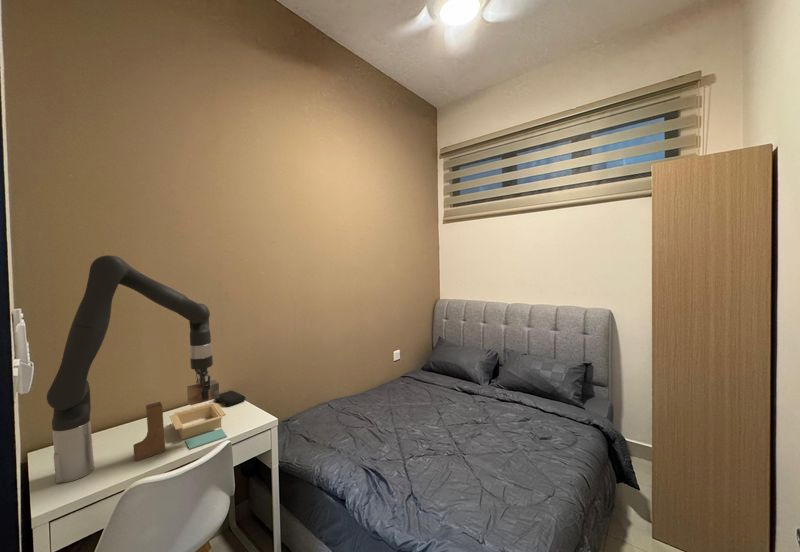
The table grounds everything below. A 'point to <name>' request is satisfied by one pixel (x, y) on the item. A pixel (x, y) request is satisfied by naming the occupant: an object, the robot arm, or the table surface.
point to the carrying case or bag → (230, 398)
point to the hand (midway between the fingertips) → (203, 397)
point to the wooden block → (152, 433)
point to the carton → (197, 414)
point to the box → (196, 393)
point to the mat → (205, 438)
